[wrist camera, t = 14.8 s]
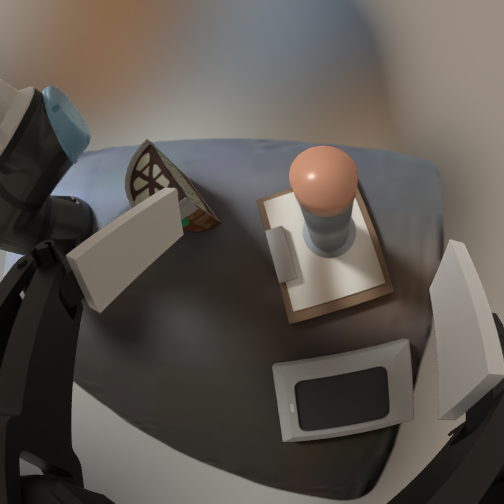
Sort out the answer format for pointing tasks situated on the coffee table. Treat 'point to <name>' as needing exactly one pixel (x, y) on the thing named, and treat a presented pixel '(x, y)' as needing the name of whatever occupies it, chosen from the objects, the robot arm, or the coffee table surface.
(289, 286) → the clipboard
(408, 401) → the grey framed panel
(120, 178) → the coffee table surface
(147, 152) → the food container
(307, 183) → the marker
